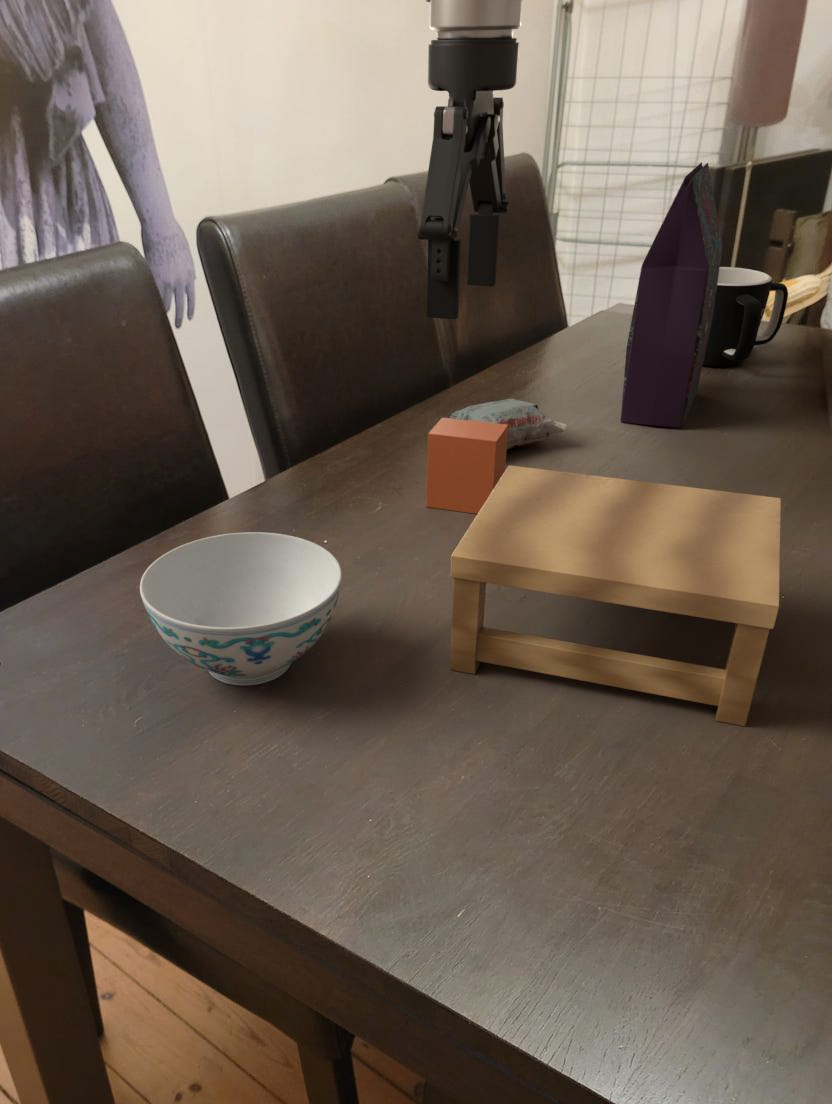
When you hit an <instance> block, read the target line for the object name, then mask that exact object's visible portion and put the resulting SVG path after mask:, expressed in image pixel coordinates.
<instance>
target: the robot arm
mask: <svg viewBox="0 0 832 1104" xmlns="http://www.w3.org/2000/svg"><path fill="white" fill-rule="evenodd" d="M425 2H427V3H429V29H430V30H431V31H433V32H436V39H431V40H430V44H428V51H427V52H428V53H427V54H428V55H427V87H428V88H429V89H431V90H432V91H435V92H436V91H437V92H447V93H448V100H447V106H446V105H445V106H443V105H442V106H439V105H438V106H435V108H434V112H433V131H432V132H433V134H432V135H433V136H432V141H431V142H432V143H431V148H430V157H429V163H428V170H427V177H426V183H425V191H424V196H423V204H422V210H421V217H420V224H419V226H418V228H417V239H418V240H421V241H422V240H425V241H427V274H426V275H427V279H426V281H427V282H426V318H433V319H443V320H445V319H447V320H457V319H458V318H459V303H460V302H459V301H460V279H461V252H462V251H461V250H462V239H460V238H458V236H459V230H460V225H461V220H462V217H463V212H464V207H465V203H466V199H467V195H468V190H469V189H470V195H471V201H472V205H473V211H474V213H470V215H469V233H468V234H469V235H468V258H467V261H468V262H467V281H466V285H467V286H478V287H479V286H480V287H495V286H496V279H497V267H498V266H497V265H498V264H497V263H498V248H499V230H500V229H499V228H500V214H508V212H509V207H510V201H506V200H507V187H506V169H505V168H506V167H505V165H506V164H505V146H504V145H505V143H504V124H503V122H504V107H505V102H504V98H503V97H494V94H493V93H494V92H495V91H507V90H511V89H513V88H515V86H516V85H517V82H518V67H519V53H520V42H518V38H516V37H514V30H518V29H519V28H520V27H521V26H522V16H523V14H522V13H523V0H425Z"/></svg>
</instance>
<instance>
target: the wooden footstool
mask: <svg viewBox="0 0 832 1104" xmlns="http://www.w3.org/2000/svg"><path fill="white" fill-rule="evenodd" d="M781 517H782V498H781V497H774V496H766V495H757V494H748V493H740V492H733V491H723V490H716V489H708V488H707V489H706V488H698V487H692V486H691V487H690V486H684V485H683V486H682V485H673V484H666V483H659V482H658V483H657V482H649V481H642V480H641V481H640V480H633V479H625V478H617V477H608V476H599V475H593V474H592V475H591V474H583V473H576V472H567V471H558V470H551V469H543V468H535V467H526V466H519V465H518V466H517V465H508V466H507V468H505V472H504V474H503V475H502V477H501V478H500V480H499V482H498V483H497V485H496V486H495V488H494V489H493V491H492V493H491V494H490V496H489V497H488V499H487V500H486V502H485V504H484V505H483V507H482V508H481V510H480V511H479V513H478V514H476V516H475V517H474V519H473V521H472V522H471V524H470V525H469V527H468V529H467V530H466V532H465V533H464V534H463V536H462V538H461V540H460V541H459V543H458V544H457V545H456V547H455V549H454V550H453V552H452V554H450V555H451V556H450V578H453V582H452V583H453V585H452V607H451V608H452V610H451V633H450V637H451V638H450V655H449V656H450V657H449V659H450V660H449V670H451V671H457V672H460V673H467V674H471V675H475V674H476V671H477V670H478V668H479V667H480V664H481V662H482V663H487V664H493V665H497V666H503V667H508V668H513V669H518V670H524V671H528V672H529V671H530V672H534V673H540V674H545V675H551V676H556V677H561V678H566V679H572V680H577V681H583V682H588V683H593V684H599V685H604V686H609V687H615V688H620V689H625V690H631V691H636V692H641V693H645V694H651V695H657V696H662V697H667V698H673V699H678V700H684V701H689V702H694V703H699V704H705V705H709V706H710V705H711V706H716V713H715V721H716V722H721V723H726V724H731V725H735V726H743V727H746V725H747V721H748V717H749V713H750V711H751V710H750V709H751V705H752V701H753V697H754V693H755V691H756V686H757V682H758V678H759V675H760V669H761V667H762V662H763V658H764V653H765V650H766V646H767V642H768V638H769V634H770V631H771V630H774V628H775V625H776V621H777V617H778V613H779V610H780V593H781V592H780V591H781V590H780V585H781V583H780V581H781V579H780V578H781V525H782V523H781V521H782V518H781ZM487 584H491V585H497V586H504V587H509V588H516V589H522V590H529V591H534V592H540V593H546V594H551V595H558V596H565V597H571V598H576V599H577V598H578V599H582V600H583V599H584V600H590V601H595V602H602V603H609V604H615V605H621V606H626V607H627V606H628V607H632V608H633V607H634V608H639V609H645V610H646V609H647V610H652V611H658V612H665V613H670V614H677V615H683V616H689V617H695V618H702V619H707V620H712V621H713V620H714V621H719V622H725V623H726V622H727V623H733V624H735V625H734V630H733V633H732V639H731V643H730V647H729V652H728V656H727V661H726V665H725V669H724V668H718V667H712V666H706V665H702V664H701V665H700V664H695V663H691V662H684V661H679V660H673V659H667V658H661V657H656V656H649V655H644V654H639V653H632V652H627V651H621V650H616V649H610V648H605V647H599V646H593V645H588V644H581V643H576V642H569V641H564V640H560V639H554V638H553V639H552V638H548V637H541V636H536V635H530V634H525V633H519V632H513V631H508V630H502V629H496V628H491V627H485V626H484V622H485V605H486V591H487V589H486V588H487Z"/></svg>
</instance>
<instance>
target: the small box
mask: <svg viewBox="0 0 832 1104" xmlns="http://www.w3.org/2000/svg"><path fill="white" fill-rule="evenodd" d="M507 436H508V425H507V424H497V423H488V422H479V421H470V420H460V419H451V418H450V417H441V418H440V420H438V421H437V423H436V424H435V425H434V426H433V427H432V428H431V430H429V432H428V433H427V461H426V462H427V463H426V465H427V466H426V500H425V501H426V504H425V505H426V508H431V509H439V510H446V511H452V512H459V513H467V514H475V515H478V513H479V511H480V510H481V508H482V507H483V505H484V504H485V502H486V500H487V499H488V497H489V496H490V494H491V493H492V491H493V489H494V488H495V486H496V485H497V483H498V482H499V480H500V478H501V477H502V475H503V474H504V472H505V471H506V466H507V465H506V463H507V450H508V449H507Z"/></svg>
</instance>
